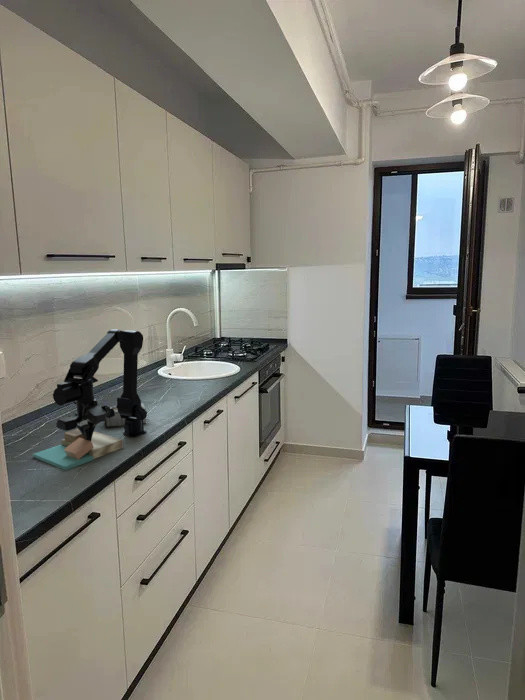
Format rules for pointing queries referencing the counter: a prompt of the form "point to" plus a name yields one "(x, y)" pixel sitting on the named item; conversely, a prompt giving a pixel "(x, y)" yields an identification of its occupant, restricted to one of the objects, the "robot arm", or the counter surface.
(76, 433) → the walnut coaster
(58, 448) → the mat
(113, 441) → the deck
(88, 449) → the blush pink tile
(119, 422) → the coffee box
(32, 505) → the counter surface
